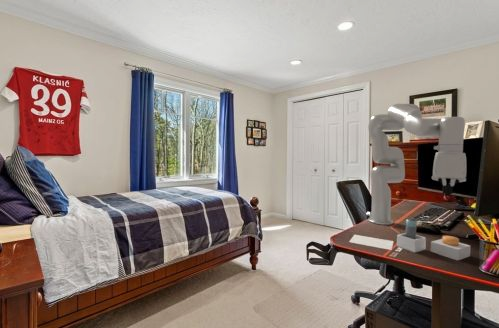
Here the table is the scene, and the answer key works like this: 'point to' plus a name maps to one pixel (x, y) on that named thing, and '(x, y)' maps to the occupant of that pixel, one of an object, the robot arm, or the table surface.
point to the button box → (450, 250)
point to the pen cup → (411, 243)
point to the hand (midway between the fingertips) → (447, 195)
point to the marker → (411, 228)
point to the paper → (372, 242)
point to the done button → (450, 240)
